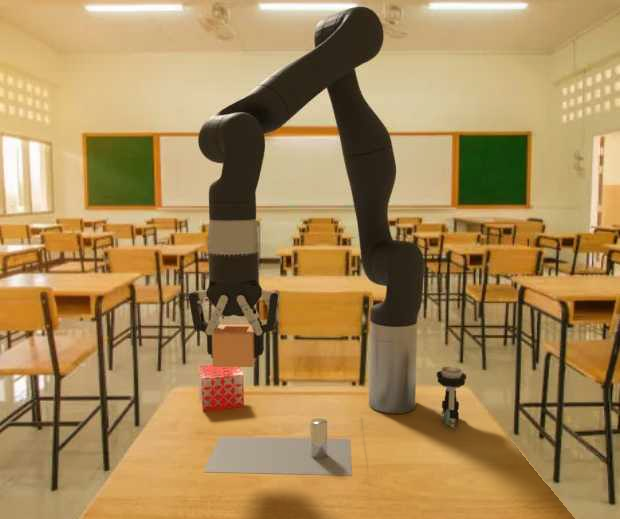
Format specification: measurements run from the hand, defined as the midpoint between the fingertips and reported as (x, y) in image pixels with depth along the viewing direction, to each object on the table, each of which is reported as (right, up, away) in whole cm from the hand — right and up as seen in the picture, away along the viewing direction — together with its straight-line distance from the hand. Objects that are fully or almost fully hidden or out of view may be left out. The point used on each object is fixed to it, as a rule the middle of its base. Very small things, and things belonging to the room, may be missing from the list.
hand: (235, 356), depth 87 cm
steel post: (+13, -17, +2) cm, 22 cm away
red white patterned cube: (-6, -15, +24) cm, 29 cm away
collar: (0, -1, 0) cm, 1 cm away
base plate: (+7, -17, +2) cm, 19 cm away
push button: (+38, -15, +17) cm, 44 cm away
